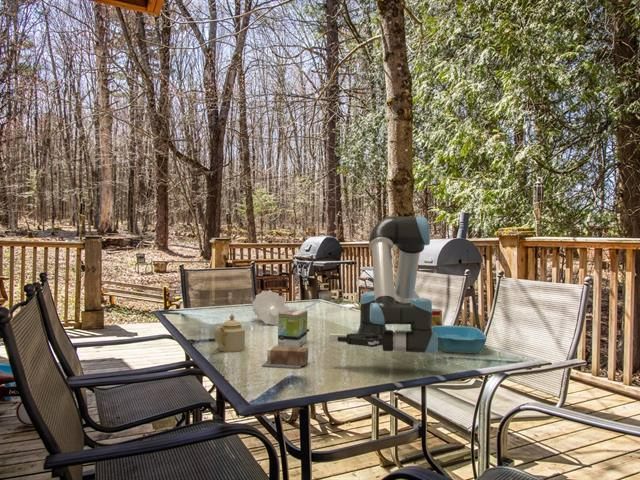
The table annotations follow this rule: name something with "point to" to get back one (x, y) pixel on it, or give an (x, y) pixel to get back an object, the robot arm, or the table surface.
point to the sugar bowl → (230, 336)
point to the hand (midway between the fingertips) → (329, 337)
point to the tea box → (292, 328)
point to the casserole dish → (460, 339)
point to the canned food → (436, 317)
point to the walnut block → (287, 355)
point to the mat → (281, 365)
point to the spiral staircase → (269, 307)
